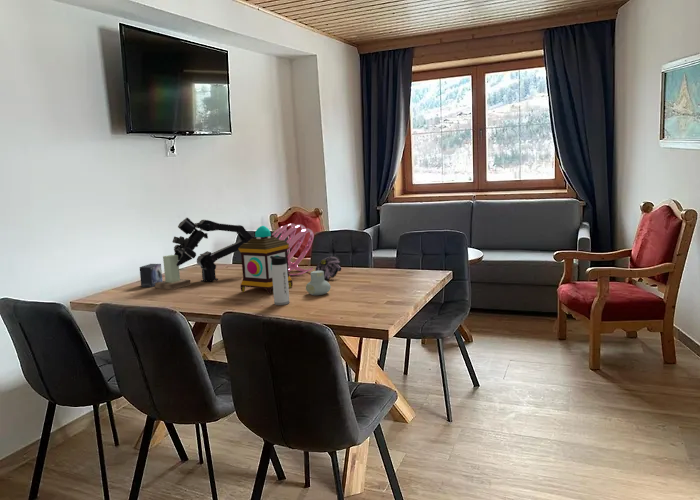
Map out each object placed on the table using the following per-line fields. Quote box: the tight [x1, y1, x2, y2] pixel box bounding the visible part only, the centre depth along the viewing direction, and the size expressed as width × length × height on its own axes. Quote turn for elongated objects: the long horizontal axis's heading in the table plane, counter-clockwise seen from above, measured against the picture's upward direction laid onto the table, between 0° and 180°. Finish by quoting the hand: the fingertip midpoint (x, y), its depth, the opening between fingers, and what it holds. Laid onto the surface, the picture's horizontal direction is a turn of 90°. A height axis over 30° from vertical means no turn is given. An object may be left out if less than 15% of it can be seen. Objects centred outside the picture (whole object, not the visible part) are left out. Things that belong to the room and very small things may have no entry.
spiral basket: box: [271, 223, 315, 277], centre depth 295 cm, size 28×28×27 cm
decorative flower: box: [314, 255, 342, 282], centre depth 280 cm, size 15×12×15 cm
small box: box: [139, 263, 163, 288], centre depth 285 cm, size 11×6×10 cm, turn 168°
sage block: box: [162, 254, 181, 283], centre depth 279 cm, size 5×5×13 cm
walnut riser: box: [154, 278, 192, 291], centre depth 280 cm, size 12×12×2 cm
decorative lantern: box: [238, 225, 294, 296], centre depth 258 cm, size 20×20×30 cm
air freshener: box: [305, 270, 332, 296], centre depth 245 cm, size 11×8×10 cm
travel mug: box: [270, 256, 290, 306], centre depth 230 cm, size 6×7×20 cm
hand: (174, 264), depth 279 cm, fingers open, 9 cm apart
